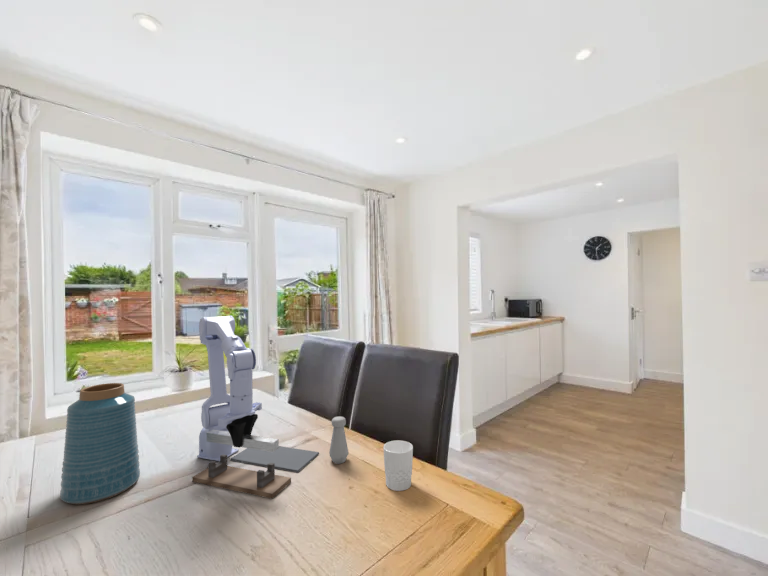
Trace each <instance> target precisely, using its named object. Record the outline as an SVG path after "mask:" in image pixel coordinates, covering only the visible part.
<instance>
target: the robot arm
mask: <svg viewBox="0 0 768 576" xmlns="http://www.w3.org/2000/svg"><path fill="white" fill-rule="evenodd" d="M235 320H236V319H235V318H234V316H233V315H226V316H225V315H223V316H221V315H219V316H202V317H201V318H199V322H198V333H199V335H198V336H199V340H200V344H202V345H204V346H206V351H207V361H208V362H207V363H208V374H209V390H210V391H209V392H210V396H209V397H208V398H207V399H206V400H205V401H204V402H203V403H202V404H201V413H200V414H201V415H200V419H201V426H202V428H201V429H200V433H199V436H198V454H197V456H196V458H199V459H204V460H210V461H214V462H220V456H221V455H222V454H224V455H227V458H229V457H231V456H233V455H234V454H236V453H238V451H239V448H240V449H241V448H242V447H241V446H242V440H243V434H247V435H252V433H253V428H254V426H255V423H256V421H257V420H258V419H259V415H258V414H257V413H256V412H257V411H262V409H263V408H262V407H263V404H262V402H257V401H256V402H254V401H253V370H255V368H256V365H257V357H256V353H255V351H254V349H253V348H250V347H246V344H245V343H244V341H243V340H242V338H241V337H240V336H239V335H236V334H235V330H236V321H235ZM224 355H225V357H226V366H227V367H226V368H227V376H228V379H229V394H228V393H227V380H226V368H225V357H224ZM211 430H220V431H227V432H229V433H230V436H231V438H232V442H233V445H234V446H232V445H226V444H220V443H214V442H208V441H207V432H209V431H211ZM234 447H235V448H234Z"/></svg>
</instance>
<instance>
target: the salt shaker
mask: <svg viewBox="0 0 768 576" xmlns="http://www.w3.org/2000/svg"><path fill="white" fill-rule="evenodd" d="M346 424H347V420H346V418H345V417H344V416H340V415H339V416H334V417H333V418H332V419H331V426H332V427H333V428H332V432H331V433H332V435H331V439H330V440H331V441H330V447H329V450H328V451H329V457H330V459H331V461H332V463H333V462H334V464H339V465H341V464H343V463H345V462H346V460H347V458H348V456H349V448H348V441H347V438H346V431H345V426H346Z"/></svg>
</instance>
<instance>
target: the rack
mask: <svg viewBox="0 0 768 576" xmlns="http://www.w3.org/2000/svg"><path fill="white" fill-rule="evenodd" d="M207 466H208V467H207V468H205V469H203V470H202V471H200V472H198V473H197V474H196V475H193V476H192V477H191V481H192V482H193V483H197V484H202V485H207V486H212V487H216V488H222V489H226V490H229V491H235V492H239V493H243V492H244V494H249V495H254V496H257V495H258V497H262V496H263V497H262V498H266V499H274V498H275V497H277V495H279V493H281V492H282V491H283V490H284V489H285V488H286V487H288V485H289V484H290V483H292V477H291V476H290V477H288V476H284V475H278V474H276V473H275V470H276V468H275V463H268V464H267V467H266V468H267V469H266V471H265V470H263V469H259V470H252V469H246V468H241V467H236V466H230V465H228V457H227V455H224V454H222V455H221V456H220V461H214V460H210V461H209V462H208V465H207Z"/></svg>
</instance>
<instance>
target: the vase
mask: <svg viewBox="0 0 768 576" xmlns="http://www.w3.org/2000/svg"><path fill="white" fill-rule="evenodd" d="M135 403H136V402H135V396H134V395H132V394H129V393H126V392H125V384H124V383H122V382H109V383H102V384H101V383H100V384H94V385H89V386H87V387H86V386H85V387H84V388H81V389H80V390H79V396H78V400H76V401H74V402H73V403H71V404H70V405H69V406H68V407H67V410H66V412H67V414H66V423H65V424H66V425H65V438H64V447H63V459H62V460H63V461H62V467H61V472H62V473H61V477H60V478H61V482H60V490H59V491H60V492H59V494H60V495H59V497H60V500H61V501H62V502H64V503H67V504H72V505H87V504H92V503H98V502H101V501H105V500H107V499H110V498H113V497H115V496H117V495H119V494H122V493H123V492H125V491H126V490H128V489H129V488H131V487H132V486H133V485H134V484H135V483H136V482H137V481H138V480H139V478H140V476H141V475H140V474H141V472H140V471H141V470H140V461H139V460H140V456H139V455H140V454H139V453H140V451H139V444H138V433H137V431H138V429H137V416H136V404H135Z"/></svg>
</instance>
